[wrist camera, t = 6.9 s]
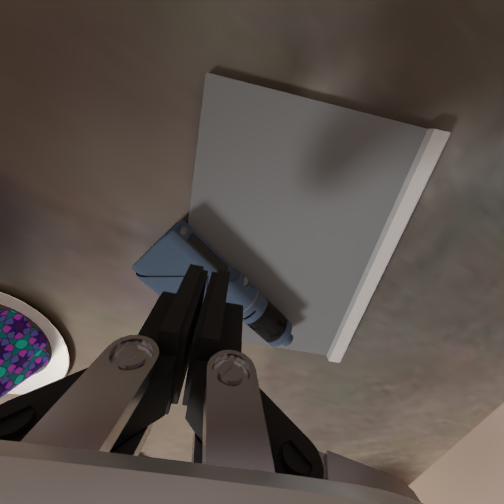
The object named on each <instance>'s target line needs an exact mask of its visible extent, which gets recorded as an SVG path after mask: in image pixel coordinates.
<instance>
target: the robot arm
mask: <svg viewBox="0 0 504 504" xmlns="http://www.w3.org/2000/svg"><path fill="white" fill-rule="evenodd" d="M203 269H204V266H198V265H193V264H190V266H189V268H188V270H187V272H186V274H185V276H184V278H183V280H182V282H181V284H180V286H179V289H178V291H177V293H171V292H166V291H163V292H162V294H161V295H160V297H159V299H158V300H157V302H156V304H155V306H154V307H153V309H152V311H151V313H150V314H149V316H148V318H147V320H146V321H145V323H144V325H143V327H142V328H141V330H140V332H139V334H138V335H129V336H126V337H122V338H120V339H118V340H116V341H114V342H113V343H111V344H110V345H109V346H108V347H107V348H106V349H105V350H104V351H103V352H102V353H101V354H100V356H99V357H98V358H97V359H96V360H95V361H94V362H93V363H92V364H91V365H90V366H89V367H88V368H86V369H84V370H81V371H79V372H76V373H74V374H72V375H69V376H67V377H64V378H62V379H60V380H57V381H55V382H52V383H50V384H47V385H45V386H43V387H40V388H38V389H35V390H33V391H31V392H28V393H26V394H23V395H21V396H18V397H16V398H14V399H11V400H9V401H7V402H5V403H3V404H1V405H0V504H423V503H421V502H420V500H419V499H418V497H417V496H416V494H415V493H414V492H413V490H411V489H410V488H409V487H408V486H407V485H406V484H405V483H404V482H403V481H401V480H399V479H398V478H396V477H394V476H392V475H389V474H387V473H384V472H382V471H379V470H377V469H374V468H371V467H369V466H366V465H364V464H361V463H359V462H356V461H354V460H351V459H349V458H346V457H343V456H341V455H338V454H336V453H333V452H331V451H328V450H327V451H326V453H322V452H320V451H318V450H317V449H316V447H315V446H314V445H313V443H312V442H311V441H310V440H309V439H308V438H307V437H306V436H305V435H304V434H303V432H302V431H301V430H300V429H299V428H298V427H297V426H296V425H295V424H294V423H293V422H292V421H291V420H290V419H289V418H288V417H287V416H286V415H285V414H284V413H283V412H282V411H281V410H280V409H279V408H278V407H277V406H276V405H275V404H274V402H273V401H272V400H271V399H270V398H269V397H268V396H267V395H266V394H265V393H264V392H263V391H262V390H261V389H260V388H259V384H258V379H257V374H256V369H255V366H254V364H253V362H252V361H251V360H250V358H249V357H247V356H246V355H245V354H243V353H241V346H242V325H243V305H239V304H233V303H228V302H226V297H227V291H228V285H229V278H230V271H225V270H220V269H218V270H217V272H212V273H211V277H210V280H209V284H208V287H207V290H206V294H205V297H204V293H205V287H206V281H207V275H208V271H206V270H203ZM203 299H204V301H203ZM188 364H189V365H188ZM187 368H188V372H187V378H186V384H185V391H184V397H183V404H182V405H187V411H186V417H185V418H186V420H187V421H188V423H189V424H190V426H191V427H192V429H193V430H194V435H193V448H192V462H184V461H176V460H168V459H160V458H151V457H143V456H138V455H139V453H140V451H141V449H142V447H143V445H144V443H145V441H146V439H147V437H148V435H149V433H150V431H151V428H152V425H153V422H155V421H157V420H158V419H160V418H161V417H163V416H164V415H165V414H168V413H169V410H170V406H171V403H173V404H177V403H178V400H179V397H180V393H181V389H182V386H183V382H184V379H185V375H186V371H187Z"/></svg>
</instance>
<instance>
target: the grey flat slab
mask: <svg viewBox="0 0 504 504" xmlns="http://www.w3.org/2000/svg"><path fill="white" fill-rule="evenodd" d="M450 134H451V133H450V132H446V131H442V130H438V129H427V128H423V127H419V126H415V125H411V124H407V123H403V122H399V121H395V120H391V119H388V118H384V117H380V116H376V115H372V114H368V113H364V112H360V111H356V110H352V109H348V108H344V107H341V106H337V105H333V104H329V103H325V102H321V101H317V100H313V99H309V98H305V97H301V96H297V95H294V94H290V93H286V92H282V91H278V90H274V89H270V88H266V87H262V86H258V85H254V84H250V83H247V82H243V81H239V80H235V79H231V78H227V77H223V76H219V75H215V74H211V73H207V72H206V73H205V81H204V90H203V98H202V107H201V115H200V123H199V132H198V140H197V149H196V157H195V166H194V174H193V182H192V191H191V199H190V208H189V216H188V225H189V226H190V227H191V228H192V229H193V230H194V231H196V232H197V233H198V234H199V235H200V236H201V237H202V238H203V239H204V240H205V241H206V242H207V243H208V244H209V245H210V246H211V247H212V248H213V249H214V250H215V251H216V252H217V253H219V254H220V255H221V256H222V257H223V258H224V259H225V260H226V261H227V262H228V263H229V264H230V265H231V266H232V267H234V268H235V269H237V270H238V271H239V272H240V273H241V274H242V275H244V276H245V277H247V279H248V280H249V281H250V282H251V283H252V284H253V285H254V286H255V287H256V288H257V289H258V291H259V292H260V293H261V294H262V295H263V296H264V297H265V298H266V299H267V300H268V301H269V302H270V303H271V304H273V305H274V306H275V307H276V308H277V309H278V310H279V311H280V312H281V313H282V314H283V315H284V317H286V318H287V319H288V320H289V321H290V322H291V323H292V331H291V334H292V335H293V341H292V342H291V344H290V345H288V346H283V345H282V344H281V345H279V346H277V347H278V348H285V349H291V350H297V351H303V352H309V353H315V354H321V355H327V358H328V361H332V362H338V363H340V361H341V359H342V357H343V355H344V353H345V351H346V349H347V347H348V345H349V343H350V341H351V338H352V336H353V334H354V332H355V330H356V328H357V326H358V324H359V322H360V320H361V318H362V316H363V314H364V312H365V310H366V307H367V305H368V303H369V301H370V299H371V297H372V295H373V293H374V291H375V289H376V287H377V285H378V283H379V281H380V278H381V276H382V274H383V272H384V270H385V268H386V266H387V264H388V262H389V260H390V258H391V256H392V254H393V252H394V250H395V247H396V245H397V243H398V241H399V239H400V237H401V235H402V233H403V231H404V229H405V227H406V225H407V223H408V221H409V219H410V216H411V214H412V212H413V210H414V208H415V206H416V204H417V202H418V200H419V198H420V196H421V194H422V192H423V190H424V187H425V185H426V183H427V181H428V179H429V177H430V175H431V173H432V171H433V169H434V167H435V165H436V163H437V161H438V159H439V156H440V154H441V152H442V150H443V148H444V146H445V144H446V142H447V140H448V138H449V136H450ZM242 342H248V343H254V344H260V345H266V346H271V345H269V344H268V343H267V342H266V341H265V340H264V339H263V338H261V337H260V336H259V335H258V334H257V333H256V332H255V331H254V330H252V329H251V328H250V327H249V326H248V325H247V324H246V323H244V322H243V325H242ZM272 347H273V346H272Z"/></svg>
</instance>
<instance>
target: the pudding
mask: <svg viewBox="0 0 504 504" xmlns="http://www.w3.org/2000/svg"><path fill="white" fill-rule="evenodd" d="M0 304H1V305H4V306H7V307H10V308H12V309H14V310H16V311H18V312H20V313H22V314H23V315H25V316H27V317H28V318H29V319H31V320H32V321H33V322H34V323H36V324H37V325H38V326H39V327H40V328H41V330H42V331H43V332H44V333H45V335H46V336H47V338H48V340H49V342H50V345H51V349H52V356H51V360H50V362H49V357H50V355H49V354H48V352H47V351H46V350H45V347H46V346H47V344H48V342H47V339H46V337H45V336H44V334H43V333H42V332H41V331H40V330H37V329H35V328H33V327H31V326H30V324H29V322H28V319H27V318H25V317H24V316H23V315H21V314H20V313H17V312H15V311H12V310H0V398H1V397H2V396H4V395H5V394H7V393H10V394H26V393H28V392H31V391H33V390H35V389H38V388H40V387H43V386H45V385H47V384H50V383H52V382H55V381H57V380H60V379H62V378H64V377H65V375H66V373H67V371H68V368H69V353H68V348H67V346H66V344H65V342H64V339H63V338H62V336H61V335H60V333H59V332H58V330H57V329H56V328H55V327H54V326H53V324H52V323H51V322H50V321H49V320H48V319H47V318H46V317H44V316H43V315H42V314H41V313H40V312H38V311H37V310H36V309H34V308H32V307H31V306H29V305H28V304H26V303H25V302H23V301H21V300H19V299H17V298H15V297H13V296H11V295H8V294H5V293H2V292H0ZM48 362H49V364H48V366H47V367H46V368H45V369H44V370H42V371H41V372H39V373H37V374H34V373H36V372H37V371H38V370H39V369H41V368H42V367H43V366H45V365H46V364H47V363H48ZM33 374H34V375H33Z"/></svg>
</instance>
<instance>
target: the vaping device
mask: <svg viewBox="0 0 504 504" xmlns="http://www.w3.org/2000/svg"><path fill="white" fill-rule="evenodd" d="M190 264H193V265H198V266H204V269H203V270H206V271H208V275H207V281H206V287H205V293H204V297H205V294H206V290H207V287H208V284H209V280H210V277H211V273H212V272H217V270H218V269H220V270H225V271H230V278H229V285H228V291H227V297H226V302H228V303H233V304H239V305H243V322H244V323H246V324H247V325H248V326H249V327H250V328H251V329H252V330H254V331H255V332H256V333H257V334H258V335H259V336H260V337H261V338H263V339H264V340H265V341H266V342H267V343H268V344H269V345H271V346H273V347H277V346H279V345H281V344H282V345H283V346H288V345H290V344H291V342H292V341H293V335H292V334H291V331H292V323H291V322H290V321H289V320H288V319H287V318H286V317H284V315H283V314H282V313H281V312H280V311H279V310H278V309H277V308H276V307H275V306H274V305H273V304H271V303H270V302H269V301H268V300H267V299H266V298H265V297H264V296H263V295H262V294H261V293H260V292H259V291H258V289H257V288H256V287H255V286H254V285H253V284H252V283H251V282H250V281H249V280H248V279H247V277H245V276H244V275H242V274H241V273H240V272H239V271H238V270H237V269H235V268H234V267H232V266H231V265H230V264H229V263H228V262H227V261H226V260H225V259H224V258H223V257H222V256H221V255H220V254H219V253H217V252H216V251H215V250H214V249H213V248H212V247H211V246H210V245H209V244H208V243H207V242H206V241H205V240H204V239H203V238H202V237H201V236H200V235H199V234H198V233H197V232H196V231H194V230H193V229H192V228H191V227H190V226H189V225H188V224H187V223H186V222H185V221H184V220H183V219H182V220H181V221H180V222H179V223H178V224H177V223H176V224H175V225H174V226H173V227H171V228H170V229H169V230H168V231H167V232H166V233H165V234H164V235H163V236H162V237H161V238H160V239H159V240H158V241H157V242H156V243H155V244H154V245H153V246H152V247H151V248H150V249H149V250H148V251H147V252H146V253H145V254H144V255H143V256H142V257H141V258H140V259H139V260H138V261H137V262H136V263H135V264H134V265H133V266H132V269H133V270H134V271H135V272H136V275H137V277H138V278H139V279H140V280H141V281H142V282H144V283H145V284H146V285H147V286H149V287H150V288H151V289H152V290H153V291H155V292H156V293H157V294H158V295H161V294H162V292H163V291H166V292H171V293H177V291H178V289H179V286H180V284H181V282H182V280H183V278H184V276H185V274H186V272H187V270H188V268H189V266H190ZM203 301H204V299H203Z"/></svg>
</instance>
